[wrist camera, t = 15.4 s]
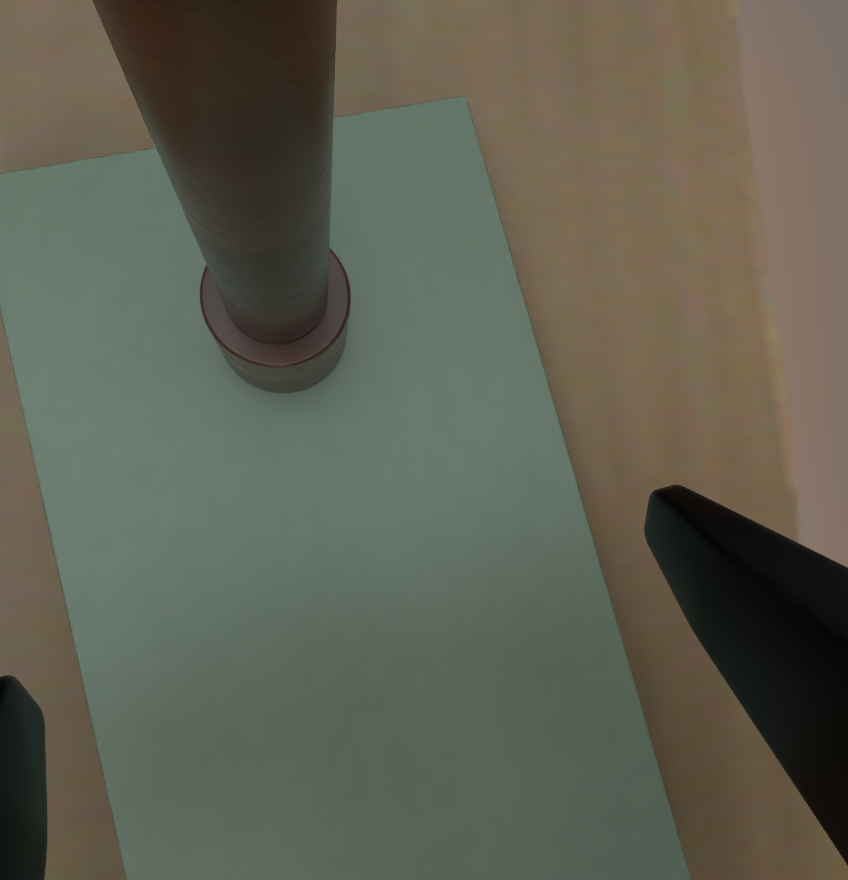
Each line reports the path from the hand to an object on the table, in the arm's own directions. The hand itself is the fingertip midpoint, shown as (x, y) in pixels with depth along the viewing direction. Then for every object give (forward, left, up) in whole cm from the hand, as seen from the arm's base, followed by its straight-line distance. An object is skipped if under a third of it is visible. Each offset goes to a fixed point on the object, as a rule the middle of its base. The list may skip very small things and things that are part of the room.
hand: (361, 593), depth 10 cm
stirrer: (+6, 0, -8) cm, 10 cm away
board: (+1, 0, -9) cm, 9 cm away
